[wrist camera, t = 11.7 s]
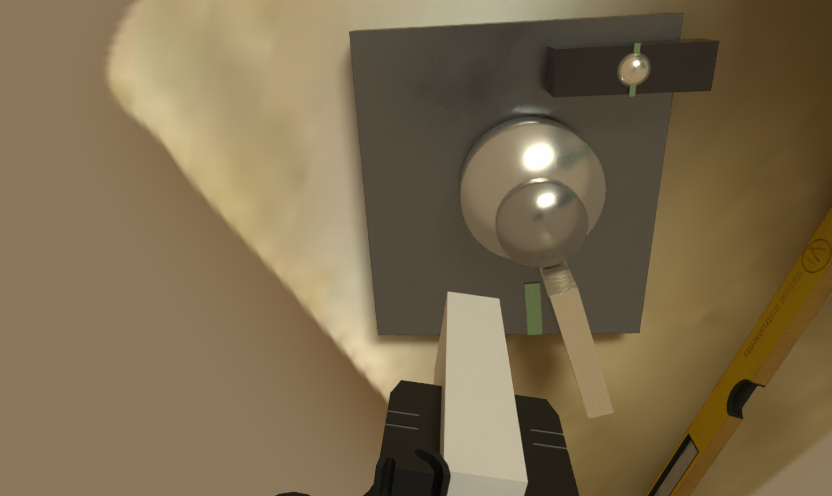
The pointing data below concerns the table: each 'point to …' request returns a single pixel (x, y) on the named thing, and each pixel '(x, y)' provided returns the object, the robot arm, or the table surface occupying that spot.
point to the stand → (490, 106)
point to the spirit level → (752, 365)
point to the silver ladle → (541, 222)
